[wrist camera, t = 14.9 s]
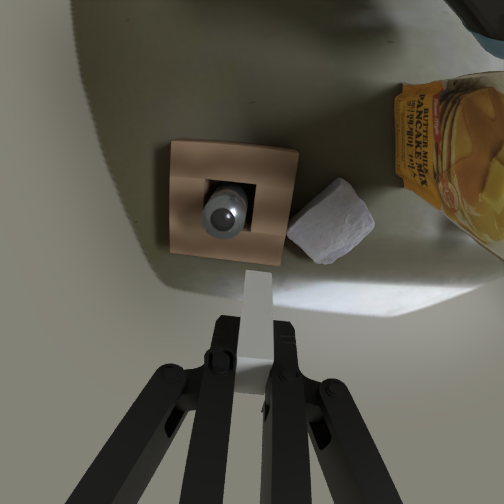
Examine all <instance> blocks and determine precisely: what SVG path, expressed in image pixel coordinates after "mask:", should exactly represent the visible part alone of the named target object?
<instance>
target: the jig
mask: <svg viewBox="0 0 504 504" xmlns="http://www.w3.org/2000/svg"><path fill="white" fill-rule="evenodd" d="M298 159H299V152H298V151H297V150H296V149H289V148H282V147H275V146H268V145H260V144H251V143H242V142H231V141H220V140H205V139H187V138H179V139H176V140H173V141H171V158H170V194H169V226H170V253H177V254H185V255H193V256H201V257H209V258H217V259H226V260H234V261H242V262H250V263H259V264H267V265H276V266H280V263H281V257H282V252H283V247H284V241H285V236H286V230H287V225H288V219H289V213H290V207H291V201H292V196H293V190H294V184H295V177H296V171H297V165H298ZM210 179H211V180H222V181H232V182H241V183H250V184H256V192H255V201H254V209H253V217H252V221H248V220H245V223H244V227H243V229H242V231H241V232H240V233H239V234H238V235H237V236H235V237H233V238H231V239H226V240H222V239H217V238H214V237H212V236H211V235H209V234H208V233H207V232H206V231H205V229H204V228H203V225H202V222H201V214H202V211H203V209H204V207H205V206H206V204H207V202H208V201H209V187H210Z"/></svg>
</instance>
